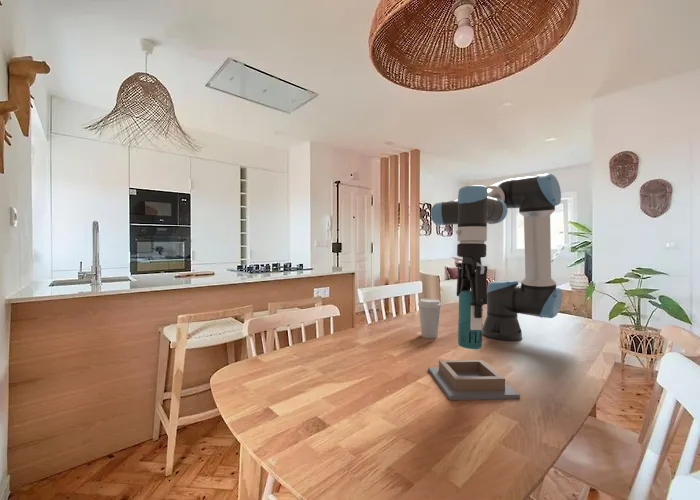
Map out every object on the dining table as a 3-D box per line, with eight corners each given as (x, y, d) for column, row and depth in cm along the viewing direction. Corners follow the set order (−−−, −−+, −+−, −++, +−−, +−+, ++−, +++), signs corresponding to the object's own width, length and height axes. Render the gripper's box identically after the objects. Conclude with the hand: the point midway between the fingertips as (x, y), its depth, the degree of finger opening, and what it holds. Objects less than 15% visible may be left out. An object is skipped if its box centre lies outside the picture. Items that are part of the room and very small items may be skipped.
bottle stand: (485, 369, 97) (485, 356, 96) (520, 398, 79) (520, 382, 78) (428, 370, 96) (428, 357, 96) (449, 400, 78) (450, 384, 78)
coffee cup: (416, 338, 127) (417, 301, 127) (418, 331, 137) (418, 297, 136) (441, 340, 125) (441, 303, 124) (441, 333, 134) (441, 299, 133)
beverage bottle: (467, 355, 83) (468, 280, 82) (452, 347, 89) (453, 277, 89) (487, 353, 84) (489, 280, 84) (472, 346, 91) (473, 277, 90)
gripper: (445, 242, 96) (444, 317, 96) (474, 242, 76) (472, 336, 77) (469, 242, 96) (468, 317, 96) (504, 242, 77) (502, 336, 77)
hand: (470, 325), depth 87 cm, fingers closed on beverage bottle, 6 cm apart
